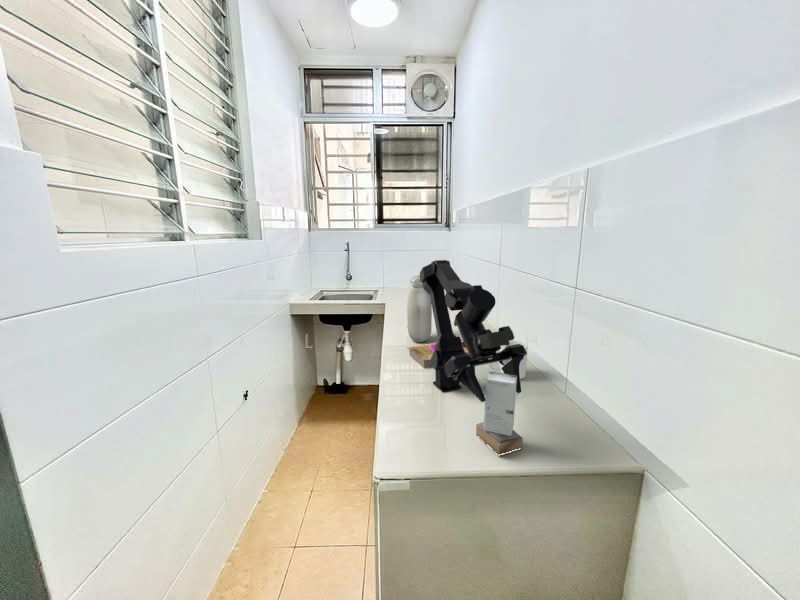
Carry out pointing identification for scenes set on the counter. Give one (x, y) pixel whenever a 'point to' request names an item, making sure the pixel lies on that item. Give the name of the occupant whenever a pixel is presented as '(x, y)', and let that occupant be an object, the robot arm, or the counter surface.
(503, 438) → the block
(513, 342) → the mug
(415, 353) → the rafter model
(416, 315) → the glass bottle
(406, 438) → the counter surface
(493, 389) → the skincare box
